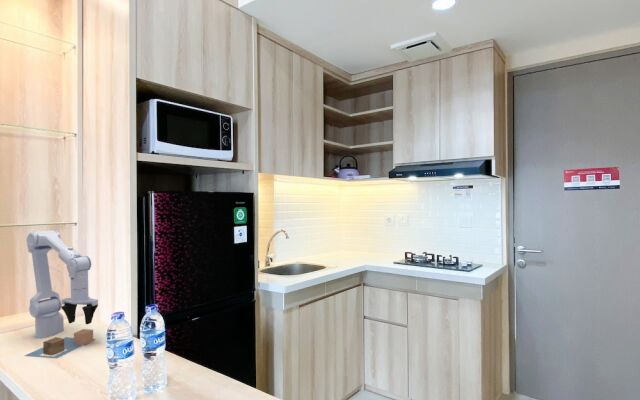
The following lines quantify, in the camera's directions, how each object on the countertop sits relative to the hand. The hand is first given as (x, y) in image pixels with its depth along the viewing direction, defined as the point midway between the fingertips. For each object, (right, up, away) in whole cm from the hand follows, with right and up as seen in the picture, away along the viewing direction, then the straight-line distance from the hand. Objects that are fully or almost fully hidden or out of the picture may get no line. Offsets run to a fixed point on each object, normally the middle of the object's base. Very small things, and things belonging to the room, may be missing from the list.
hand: (80, 323), depth 145 cm
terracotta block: (+1, -8, +1) cm, 8 cm away
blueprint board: (-5, -9, -3) cm, 11 cm away
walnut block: (-5, -8, -8) cm, 12 cm away
